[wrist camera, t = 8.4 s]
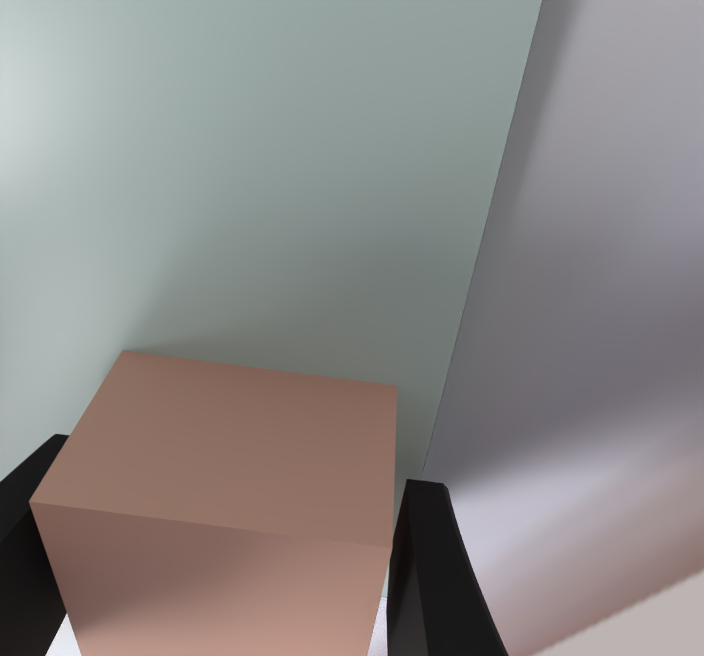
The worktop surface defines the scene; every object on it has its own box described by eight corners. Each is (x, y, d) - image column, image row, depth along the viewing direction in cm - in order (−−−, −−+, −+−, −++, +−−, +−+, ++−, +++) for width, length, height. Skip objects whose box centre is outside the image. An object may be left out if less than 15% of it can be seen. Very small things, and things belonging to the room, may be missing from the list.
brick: (366, 548, 13) (355, 706, 10) (149, 520, 13) (87, 670, 10) (397, 385, 10) (392, 548, 7) (122, 350, 10) (29, 501, 8)
